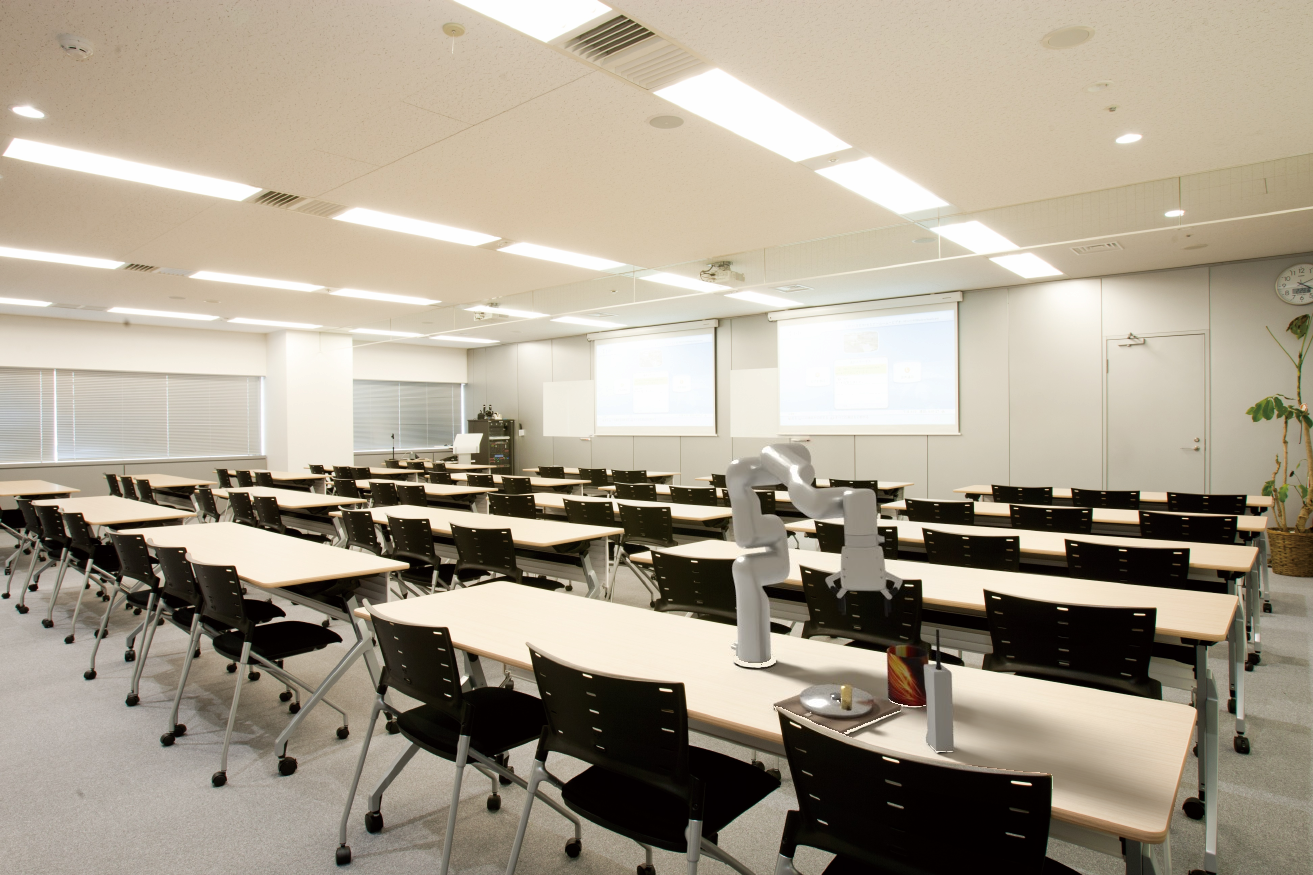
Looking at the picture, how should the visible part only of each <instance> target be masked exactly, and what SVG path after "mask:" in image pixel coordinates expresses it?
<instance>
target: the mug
mask: <svg viewBox="0 0 1313 875" xmlns="http://www.w3.org/2000/svg"><path fill="white" fill-rule="evenodd" d="M929 660H930V659H929V652H928V650H926V649H923V648H921V647H918V646H917V647H916V646H912V645H894V646H889V647H888V648H887V649H886V667H887V673H886V674H887V699H888V698H889V699H890V700H891V701H893V702H895V703H898V704H903V705H908V706H923V705H926V706H925V707H927V696H926V689H925V677H924V664H930V663H929Z"/></svg>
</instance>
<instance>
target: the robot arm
mask: <svg viewBox="0 0 1313 875" xmlns="http://www.w3.org/2000/svg"><path fill="white" fill-rule="evenodd" d="M811 463H812V456H811V452H810V450H809V449H808V448H807V447H806V446H805V445H803V444H801V443H798V442H783V443H772V444H769V445H767V446H765V447H764V448H763V449H762V450H761V451H760V453H759V456H747V457H746V456H745V457H739V458H736V459H734V460H733V461H731V462H730V463H729V464H728V466H727V468H726V471H725V485H726V489H727V492H728V496H729V500H730V506H731V514H732V516H731V517H732V525H733V526H732V527H733V535H734V542H735V544H736V545H737V547H739V548H740V549H745V550H747V549H748V550H751V549H753V550H754V549H760V548H765V551H761V552H758V551H757V552H752V553H746V554H745V553H744V554H742V555H740V556H738V557H736V558H735V560H734V561H733V563H732V565H731V566H732V567H731V569H732V570H731V571H732V577H733V582H734V586H735V595H736V596H735V597H736V598H735V599H736V619H737V620H736V623H737V640H735V641H734V642H733V644H731V646H730V649H731V650H733V651H735V655H736V656H738V658H739V660H741V661H744V662H748V663H763V662H767V661H769V660H770V659H771V654H772V650H771V649H772V648H771V647H772V646H771V613H770V612H771V611H770V605H771V604H770V600H769V597H768V595H767V593H766V592H765V590H764V588H763V586H767V585H774V584H780V583H782V582H785V581H786V580H787V579H788V578H789V575H790V571H791V563H790V553H789V552H790V551H789V542H788V541H789V540H788V534H787V533H788V532H787V528H786V525H785V523H784V521H783V519H781V517H779V516H777V515H776V514H762V509H761V508H762V507H761V500H760V498H759V496H758V494H757V493H756V492H755V490H754V489H753V488H752V487H756V486H757V487H758V486H776V485H779V484H783V485H784V486H786V487H787V494H788V497H789V499H790V502H791V503H792V505H793V506H794V507H795V508H796V509H797V510H798V511H799V512H800V513H803V514H804V515H805V516H807V517H808V518H810V519H813V520H817V521H822V520H823V521H825V520H831V519H842V518H843V530H844V531H843V532H844V546H842V547H841V553H840V554H841V556H840V570H839V571H837V572H835V573H834V574H830V575H829V576H827V577H826V578H825V583H826V585H827V586H828V588H829V590H830V591H831V592H832V593H833V594H834V595H835V596H836V597H837V599H838V600H837V601H838V611H839V612H841V615H842V616H846V613H847V612H846V610H847V609H846V596H845V594H846V592H847V591H853V592H854V591H855V592H856V591H858V592H881V593H882V595H883V596H884V597H883V598H884V600H883V601H884V617H889V613H892V602H891V601H892V600H891V599H893V597H894V596H895V595H896V594H897V593H898V592H899V590H900V588H901V586H902V584H903V581H904V580H903V578H901V577H899V576H897V575H894V574H893V573H891V572H889V571H887V570H886V563H885V556H884V551H883V547H882V546H880V545H879V544H882V543H885V536H882V535H880V534H878V533H879V532H878V516H877V497H876V493H875V491H874V490H873V489H871V488H853V487H849V486H839V487H838V486H837V487H824V488H822V487H821V488H816V487H814V486H812V483H813V482H814V479H815V475H816V473H815V468H814V466H813V464H811ZM838 579H840V585H841V587H840V589H839V588H838V587H837V586H836V585H835V584H834V581H836V580H838ZM887 580H889V581H892V582H893V583H894V585H893V586H892V588H891V589H890V590H889V589H888V588H887ZM761 665H762V664H761Z"/></svg>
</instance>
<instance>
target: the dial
mask: <svg viewBox="0 0 1313 875" xmlns="http://www.w3.org/2000/svg"><path fill="white" fill-rule="evenodd" d="M799 694H800V704H801V706H802V707H803V708H804V709H806V710H807V711H809V712H811V713H814V714H817V715H820V716H825V717H830V718H856V717H861V716H864V715H867V714H869V713H870V712H872V711H873V709H874V700H873V697H872V696H873V695H872V696H871V694H870V693H868V692H867V691H865V690H863V689H859V688H858V687H853V686H852V685H851V684H848V683H847V684H846V683H845V684H840V685H827V684H819V685H813V686H810V687H807V688H804V689H803V690H802V691H801V692H800V693H799Z"/></svg>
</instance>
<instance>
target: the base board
mask: <svg viewBox="0 0 1313 875" xmlns="http://www.w3.org/2000/svg"><path fill="white" fill-rule="evenodd" d="M826 685H841V684H839V683H837V682H830V683H828V684H826ZM800 694H801V693H799V694H796V695H794V696H792V697H789V698H786V699H783V700H782V699H781V700H780V701H777V702H775V703H773V711H775V708H774V706H775V707H776V706H778V707H782V708H783V709H786V710H788V711H790V712H792V713H794V714H796V715H799V716H802V717H805V718H807V719H809V720H811V721H812V722H814V723H816V724H818V725H822V726H825V727H827V728H829V729H832V730H835V731H838V732H839V733H842V734H845V733H844V732H847V730H850V729H853V728H856V727H858V726H861V725H863V724H865V723H868V722H871V721H873V720H876V719H878V718H881V717H883V716H886V715H889V714H892V713H894V712H897V711H900V710H901V711H902V706H901V705H898V704H895V703H892V702H890V701H889V700H885V699H883V698H880V697H877V696H875V695H871V694H870V695H871V696H872V697H873V700H874V709H873V711H872V712H870V713H869V714H867V715H864V716H861V717H856V718H830V717H825V716H820V715H817V714H814V713H811V712H809V711H807V710H806V709H804V708H803V707H802V706H801V704H800ZM845 735H847V736H848V735H850V734H845Z"/></svg>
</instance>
